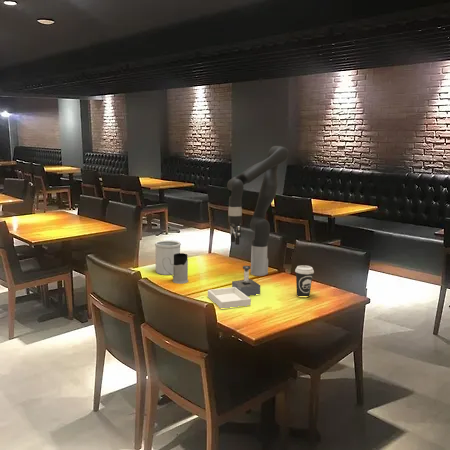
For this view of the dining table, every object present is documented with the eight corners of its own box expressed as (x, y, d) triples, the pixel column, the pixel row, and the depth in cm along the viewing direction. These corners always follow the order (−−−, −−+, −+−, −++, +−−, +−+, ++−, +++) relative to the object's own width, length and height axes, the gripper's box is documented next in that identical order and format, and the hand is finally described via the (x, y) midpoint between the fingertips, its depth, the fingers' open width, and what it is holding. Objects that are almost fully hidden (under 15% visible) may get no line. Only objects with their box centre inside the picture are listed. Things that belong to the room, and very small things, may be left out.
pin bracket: (250, 288, 267) (251, 279, 266) (260, 294, 257) (260, 285, 256) (232, 290, 262) (232, 281, 261) (240, 297, 252) (240, 287, 252)
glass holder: (188, 283, 272) (188, 257, 269) (162, 283, 271) (162, 257, 268) (188, 278, 281) (188, 252, 278) (163, 278, 280) (162, 252, 277)
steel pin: (247, 290, 262) (248, 265, 259) (251, 293, 258) (251, 267, 256) (240, 291, 261) (241, 265, 258) (243, 294, 257) (244, 268, 254)
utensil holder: (166, 266, 304) (166, 238, 300) (185, 271, 295) (185, 242, 292) (149, 272, 292) (149, 242, 288) (168, 276, 283) (168, 246, 280)
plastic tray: (234, 293, 258) (235, 286, 257) (250, 305, 241) (250, 298, 240) (207, 296, 252) (207, 290, 251) (221, 309, 235) (221, 302, 234)
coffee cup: (314, 294, 259) (316, 266, 256) (309, 300, 250) (311, 271, 247) (296, 291, 263) (298, 264, 260) (291, 296, 254) (292, 268, 251)
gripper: (245, 216, 272) (245, 245, 275) (237, 213, 286) (237, 240, 288) (232, 216, 270) (232, 245, 273) (225, 213, 284) (225, 241, 286)
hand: (235, 243), depth 281 cm, fingers open, 8 cm apart
